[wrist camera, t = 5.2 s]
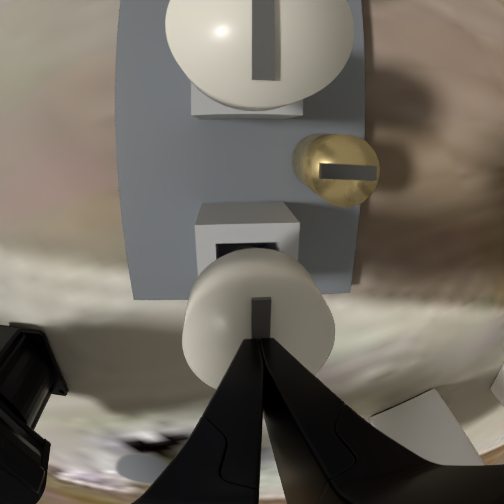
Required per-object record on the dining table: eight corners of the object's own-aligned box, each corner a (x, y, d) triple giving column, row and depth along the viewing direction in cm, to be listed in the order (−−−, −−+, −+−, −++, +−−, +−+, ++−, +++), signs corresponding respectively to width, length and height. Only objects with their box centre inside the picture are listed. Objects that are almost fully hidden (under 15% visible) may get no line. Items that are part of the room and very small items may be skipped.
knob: (294, 308, 15) (325, 394, 10) (199, 312, 15) (190, 402, 9) (299, 217, 13) (346, 274, 8) (193, 219, 13) (172, 281, 8)
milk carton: (369, 416, 25) (439, 587, 8) (434, 386, 25) (524, 534, 8) (372, 449, 28) (425, 589, 10) (429, 423, 28) (496, 550, 10)
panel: (344, 285, 20) (375, 328, 15) (137, 291, 19) (115, 339, 14) (345, -69, 11) (374, -106, 7) (137, -73, 10) (118, -114, 6)
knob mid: (302, 118, 12) (358, 111, 7) (190, 118, 11) (162, 108, 6) (301, 19, 10) (350, -42, 5) (191, 17, 10) (170, -52, 5)
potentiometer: (344, 190, 17) (379, 209, 13) (290, 189, 16) (312, 209, 12) (347, 135, 16) (385, 138, 12) (292, 131, 15) (314, 132, 11)
